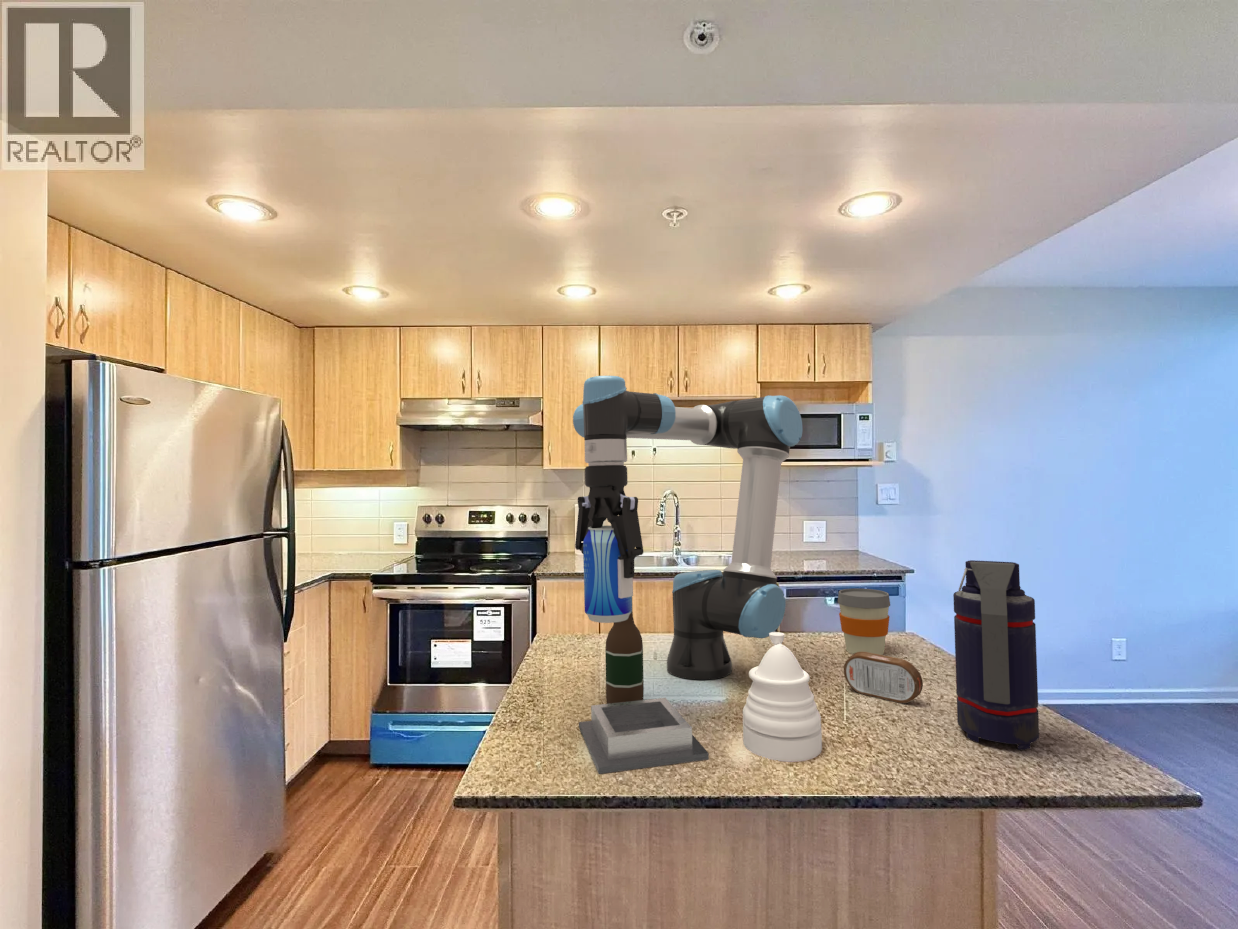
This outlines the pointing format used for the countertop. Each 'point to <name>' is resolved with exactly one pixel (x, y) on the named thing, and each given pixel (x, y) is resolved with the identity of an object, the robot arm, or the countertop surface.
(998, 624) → the grenade
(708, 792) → the countertop surface
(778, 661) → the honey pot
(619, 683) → the beer bottle
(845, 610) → the reusable coffee cup
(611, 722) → the silver square tray
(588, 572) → the beer can
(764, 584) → the robot arm
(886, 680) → the tin
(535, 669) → the countertop surface
